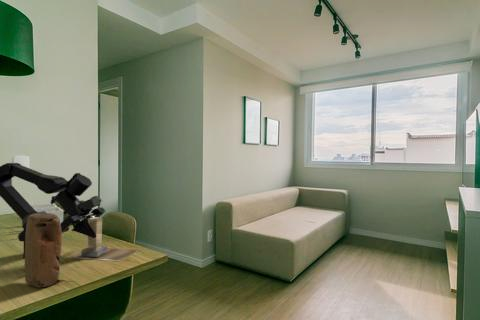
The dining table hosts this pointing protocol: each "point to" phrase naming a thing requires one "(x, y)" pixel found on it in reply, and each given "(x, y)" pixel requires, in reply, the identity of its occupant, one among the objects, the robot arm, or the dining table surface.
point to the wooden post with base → (95, 239)
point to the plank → (108, 255)
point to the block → (42, 249)
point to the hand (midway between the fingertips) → (98, 235)
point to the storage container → (49, 210)
